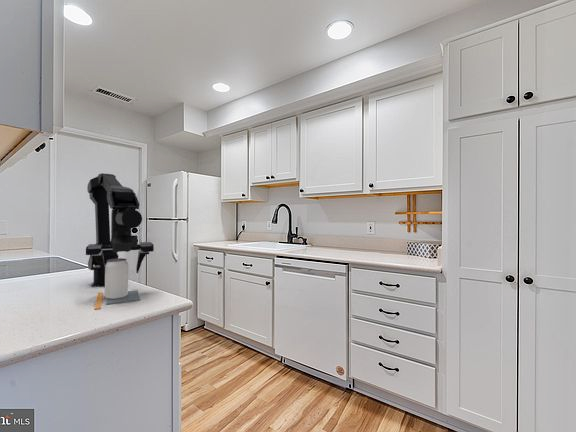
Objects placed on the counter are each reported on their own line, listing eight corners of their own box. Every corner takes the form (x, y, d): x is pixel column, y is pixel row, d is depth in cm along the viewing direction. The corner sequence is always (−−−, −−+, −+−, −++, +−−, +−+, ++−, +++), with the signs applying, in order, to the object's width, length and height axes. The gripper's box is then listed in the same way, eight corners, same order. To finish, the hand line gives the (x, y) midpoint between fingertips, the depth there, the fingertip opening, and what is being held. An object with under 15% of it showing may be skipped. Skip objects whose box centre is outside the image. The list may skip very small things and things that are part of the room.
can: (117, 300, 88) (117, 261, 88) (99, 298, 90) (99, 261, 89) (132, 294, 95) (132, 258, 94) (115, 293, 96) (115, 257, 96)
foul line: (98, 293, 96) (98, 292, 96) (103, 293, 97) (103, 292, 97) (94, 309, 81) (94, 308, 81) (100, 308, 82) (100, 307, 82)
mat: (107, 294, 95) (107, 293, 95) (137, 291, 100) (137, 290, 100) (106, 305, 85) (106, 303, 85) (139, 300, 90) (139, 299, 90)
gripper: (84, 228, 81) (83, 283, 81) (155, 227, 91) (155, 276, 91) (87, 226, 90) (87, 275, 91) (152, 225, 100) (151, 269, 100)
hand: (121, 274), depth 93 cm, fingers open, 9 cm apart
